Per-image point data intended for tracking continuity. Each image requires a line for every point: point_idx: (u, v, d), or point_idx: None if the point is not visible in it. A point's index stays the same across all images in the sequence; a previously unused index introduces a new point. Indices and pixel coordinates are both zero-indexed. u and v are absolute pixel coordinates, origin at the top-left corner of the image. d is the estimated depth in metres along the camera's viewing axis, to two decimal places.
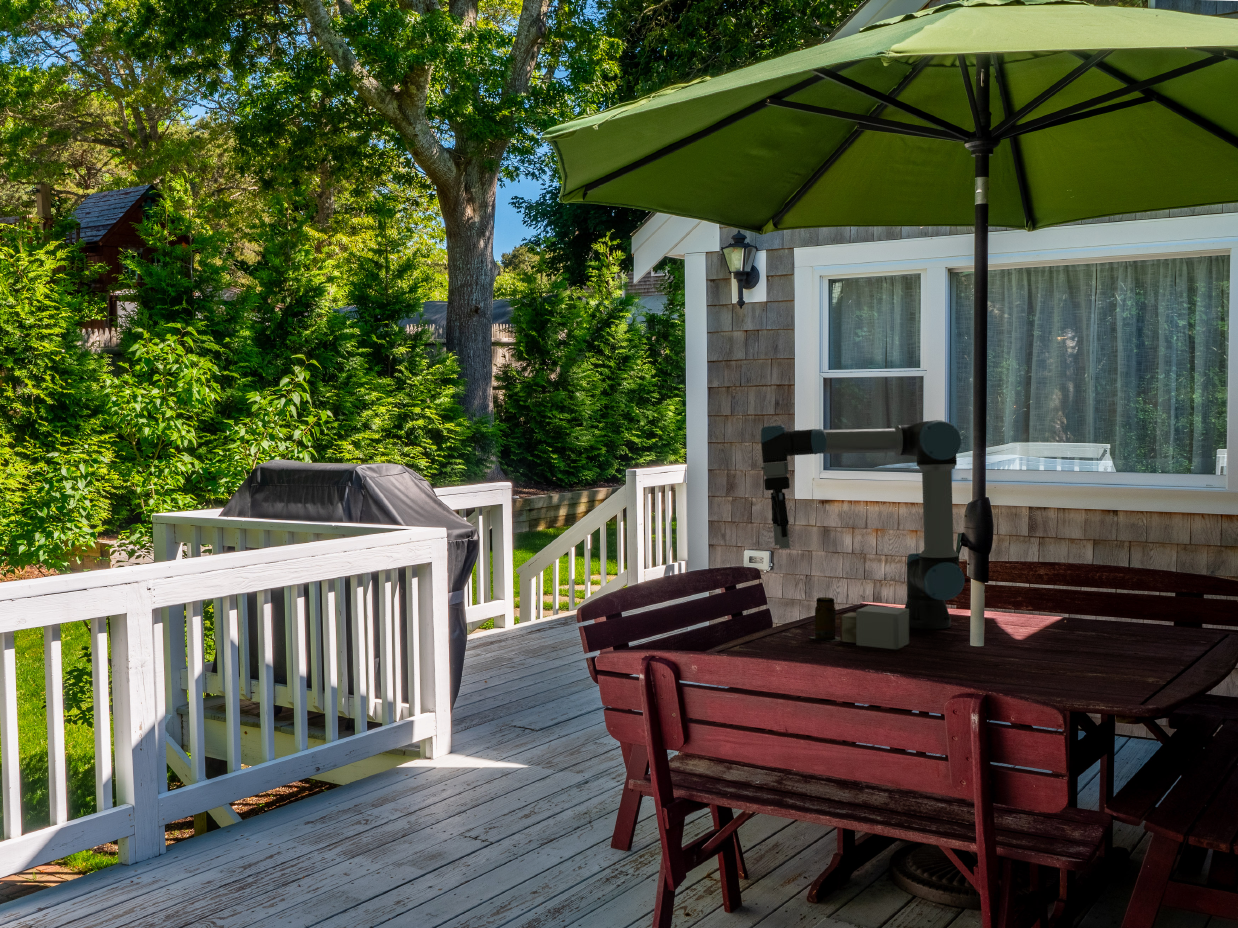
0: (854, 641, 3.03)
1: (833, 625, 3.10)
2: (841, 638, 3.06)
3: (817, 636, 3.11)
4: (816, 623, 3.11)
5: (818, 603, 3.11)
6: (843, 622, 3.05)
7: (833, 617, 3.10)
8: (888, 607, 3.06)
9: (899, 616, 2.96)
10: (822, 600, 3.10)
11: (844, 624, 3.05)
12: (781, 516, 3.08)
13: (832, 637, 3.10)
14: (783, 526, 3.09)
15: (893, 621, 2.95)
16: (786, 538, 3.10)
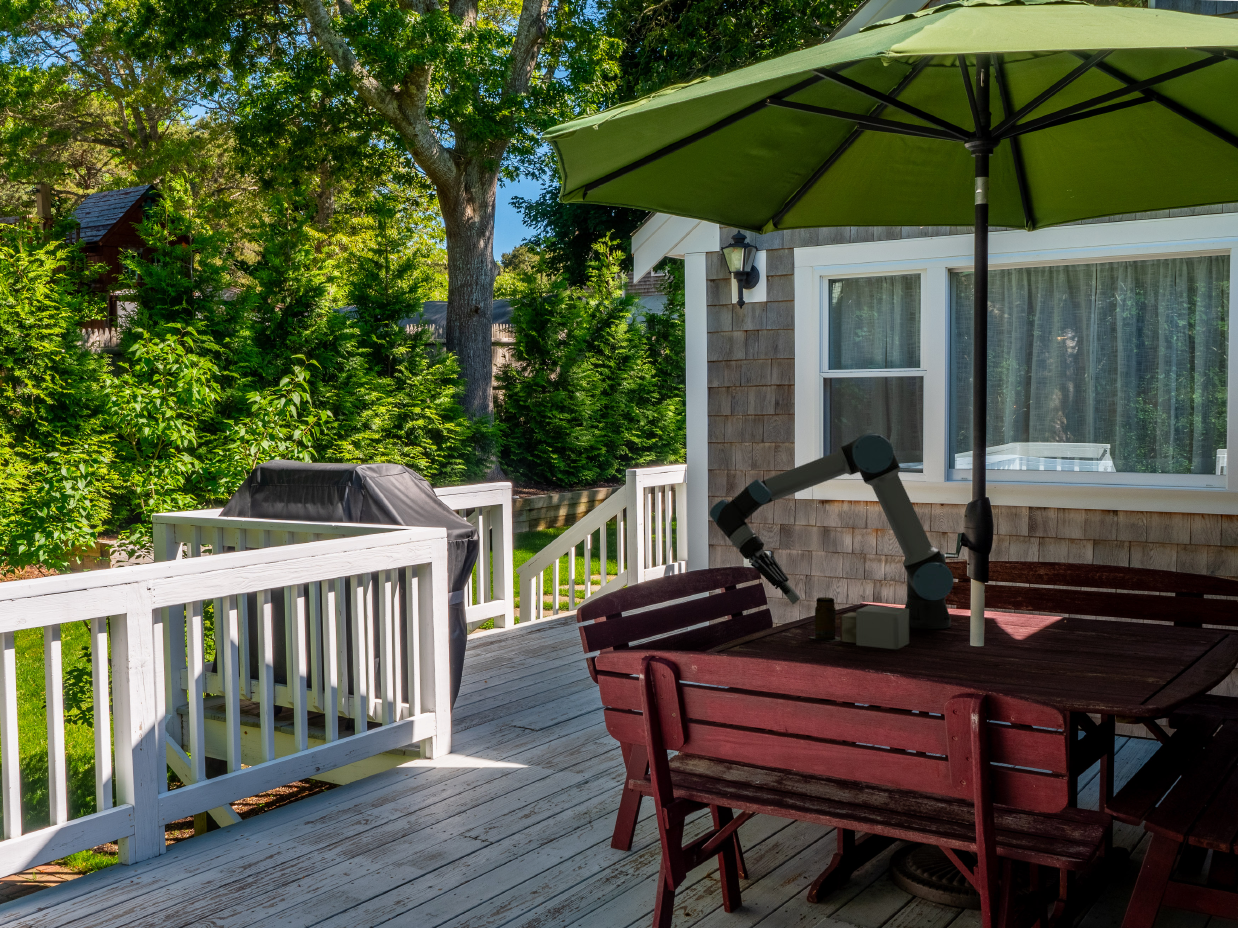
0: (854, 641, 3.03)
1: (833, 625, 3.10)
2: (841, 638, 3.06)
3: (817, 636, 3.11)
4: (816, 623, 3.11)
5: (818, 603, 3.11)
6: (843, 622, 3.05)
7: (833, 617, 3.10)
8: (888, 607, 3.06)
9: (899, 616, 2.96)
10: (822, 600, 3.10)
11: (844, 624, 3.05)
12: (770, 580, 3.17)
13: (832, 637, 3.10)
14: (779, 585, 3.17)
15: (893, 621, 2.95)
16: (791, 592, 3.17)
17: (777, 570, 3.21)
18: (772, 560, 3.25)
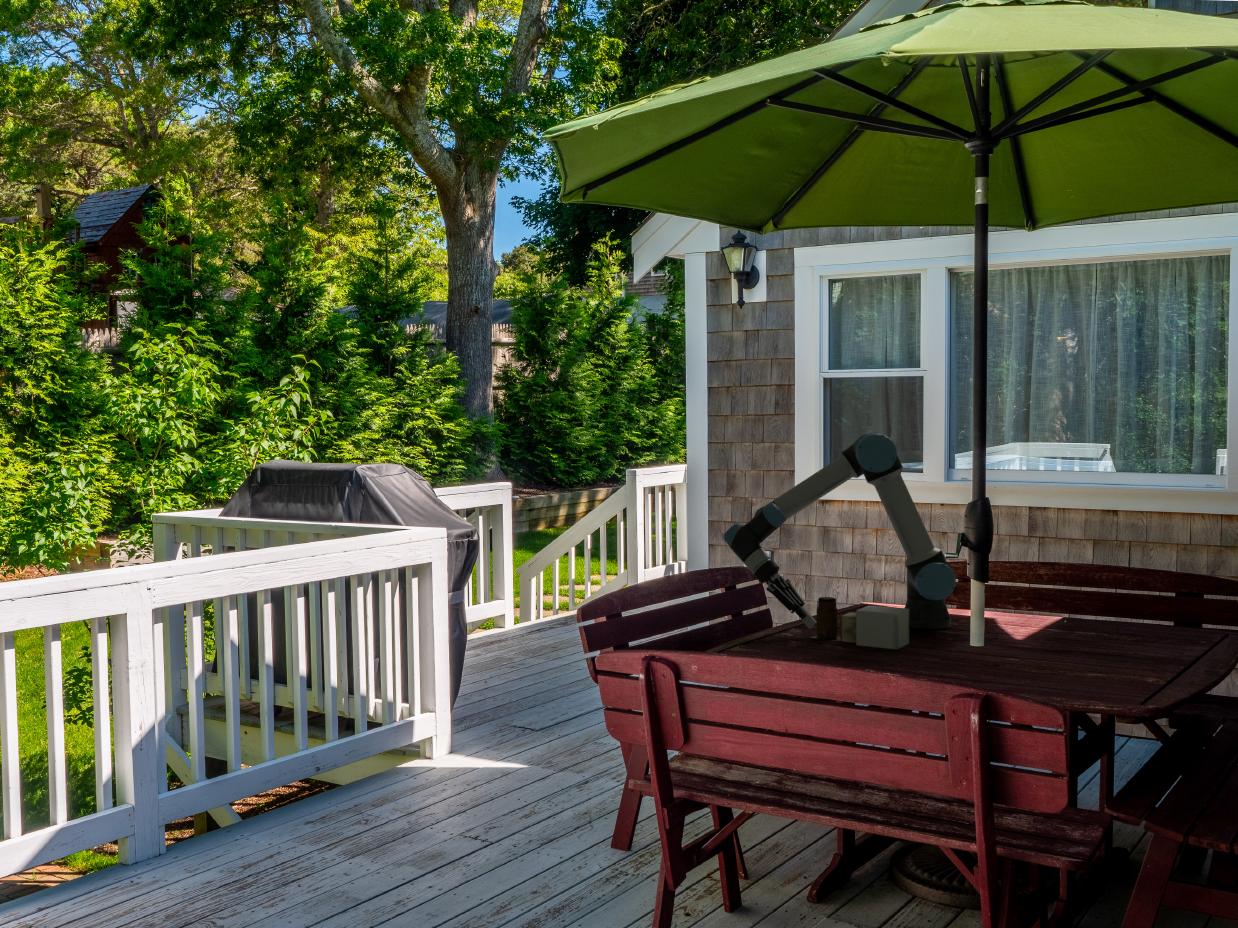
0: (854, 641, 3.03)
1: (835, 625, 3.10)
2: (841, 638, 3.06)
3: (819, 636, 3.11)
4: (818, 623, 3.11)
5: (820, 603, 3.11)
6: (843, 622, 3.05)
7: (835, 617, 3.10)
8: (888, 607, 3.06)
9: (899, 616, 2.96)
10: (824, 600, 3.10)
11: (844, 624, 3.05)
12: (786, 604, 3.14)
13: (834, 637, 3.10)
14: (795, 610, 3.14)
15: (893, 621, 2.95)
16: (807, 617, 3.14)
17: (793, 594, 3.18)
18: (787, 584, 3.23)
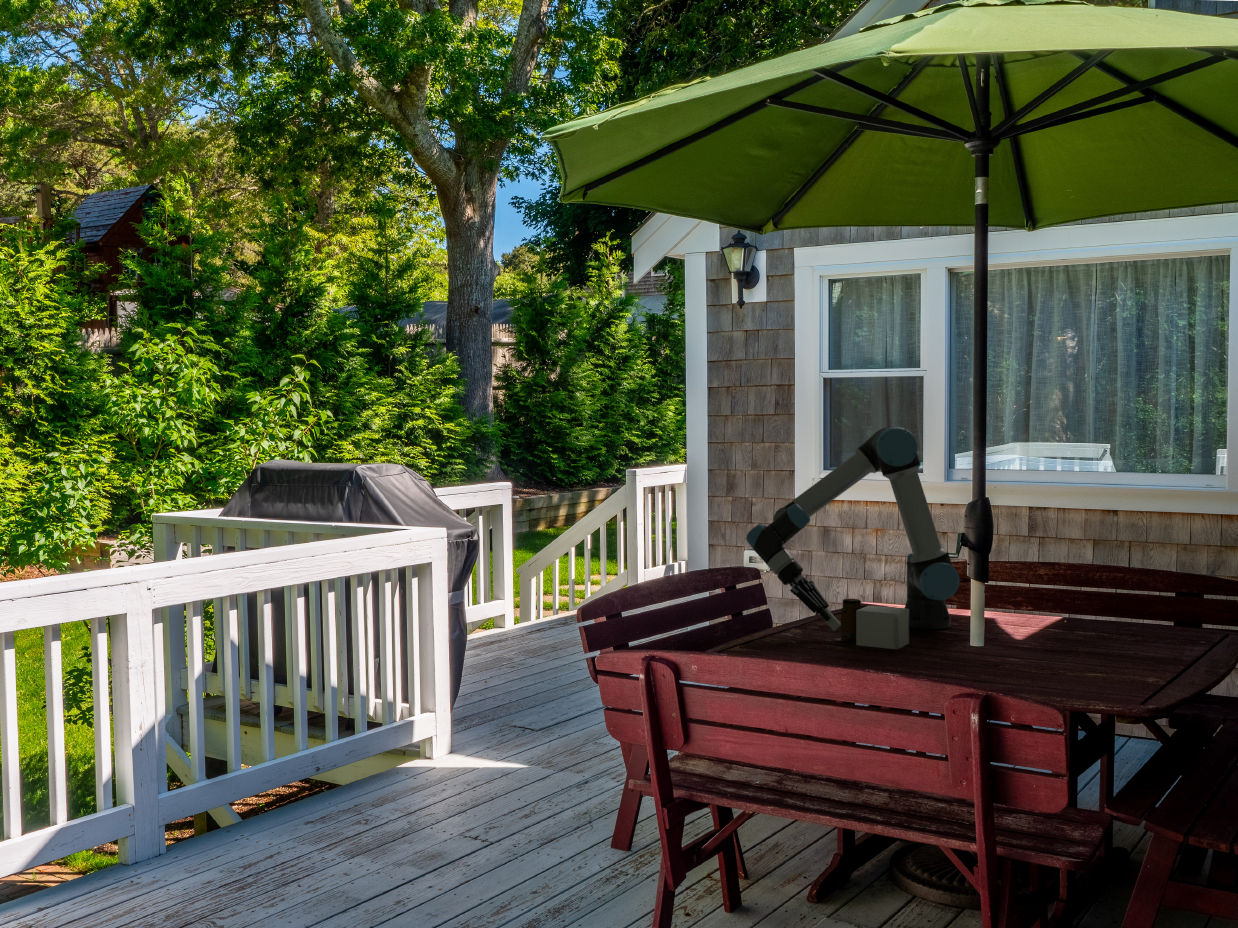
0: None
1: None
2: None
3: (843, 638, 3.07)
4: (842, 625, 3.07)
5: (845, 605, 3.07)
6: None
7: None
8: (888, 607, 3.06)
9: (899, 616, 2.96)
10: (849, 602, 3.06)
11: None
12: (810, 606, 3.10)
13: None
14: (820, 612, 3.10)
15: (893, 621, 2.95)
16: (831, 619, 3.10)
17: (817, 596, 3.14)
18: (811, 585, 3.19)
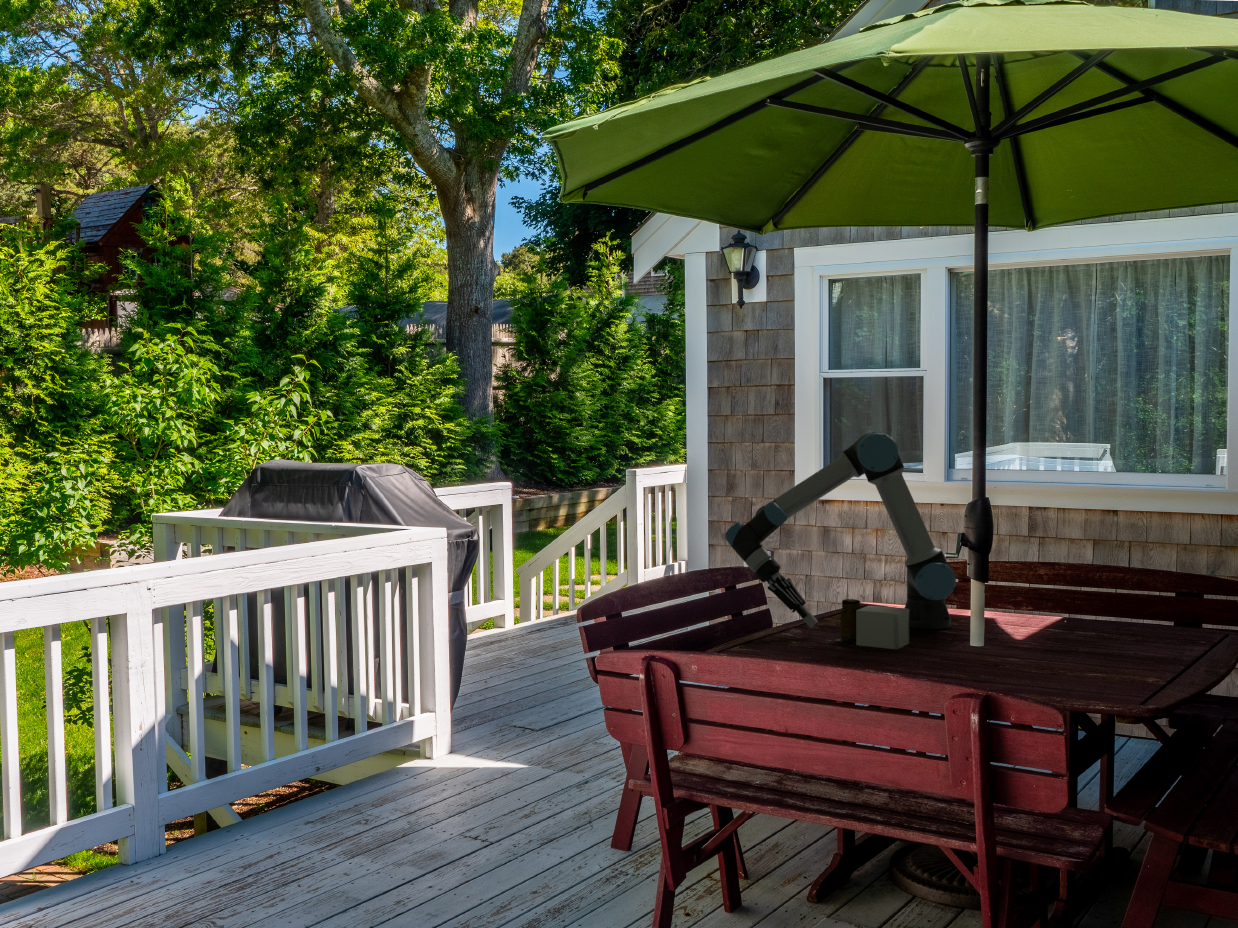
0: None
1: None
2: None
3: (843, 639, 3.07)
4: (842, 625, 3.07)
5: (844, 605, 3.07)
6: None
7: None
8: (888, 607, 3.06)
9: (899, 616, 2.96)
10: (848, 602, 3.06)
11: None
12: (787, 603, 3.14)
13: None
14: (797, 609, 3.14)
15: (893, 621, 2.95)
16: (808, 616, 3.14)
17: (794, 593, 3.18)
18: (788, 583, 3.23)
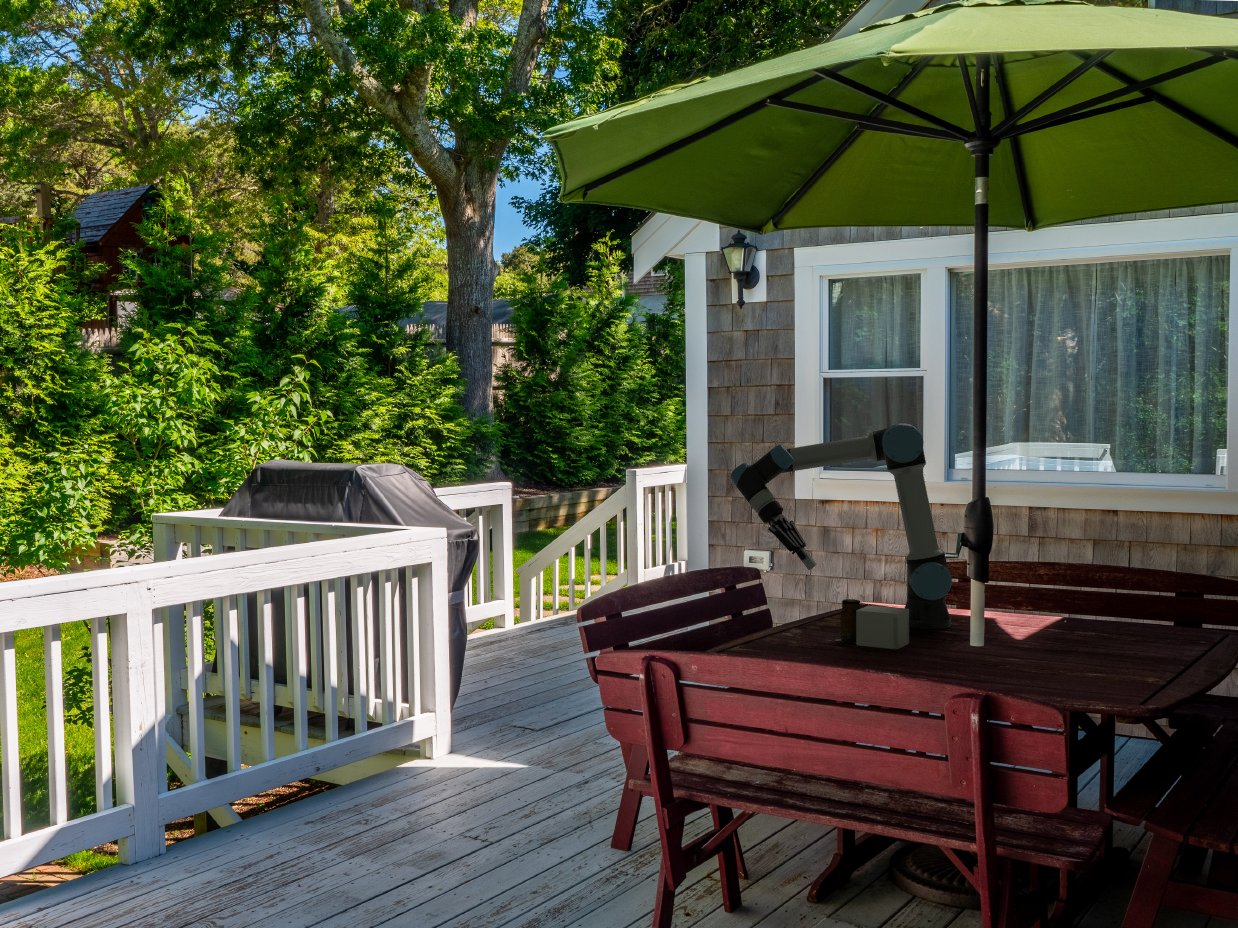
0: None
1: None
2: None
3: (843, 639, 3.07)
4: (842, 625, 3.07)
5: (844, 605, 3.07)
6: None
7: None
8: (888, 607, 3.06)
9: (899, 616, 2.96)
10: (848, 602, 3.06)
11: None
12: (786, 545, 3.17)
13: None
14: (796, 551, 3.18)
15: (893, 621, 2.95)
16: (807, 558, 3.17)
17: (795, 535, 3.21)
18: (791, 525, 3.26)
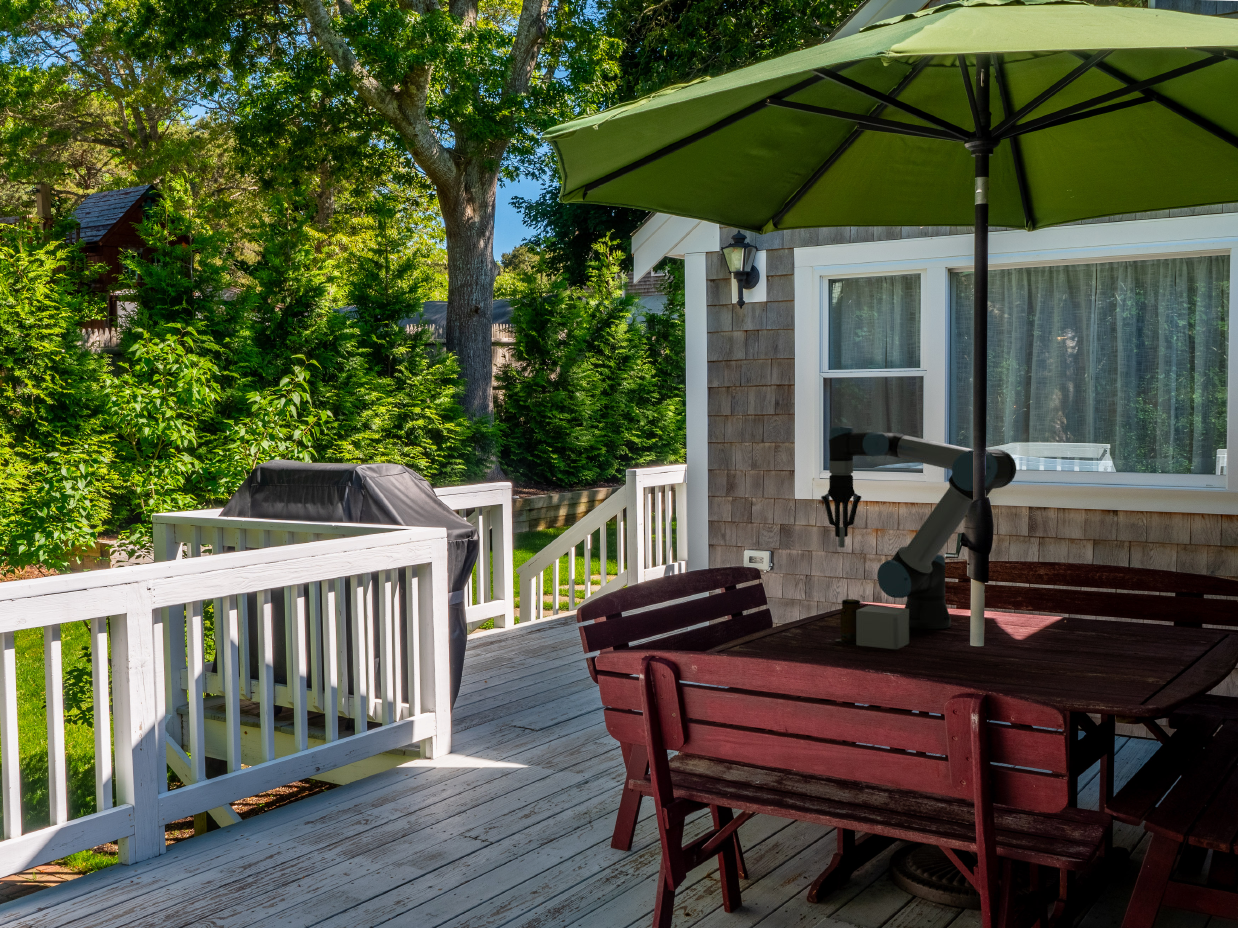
0: None
1: None
2: None
3: (843, 639, 3.07)
4: (842, 625, 3.07)
5: (844, 605, 3.07)
6: None
7: None
8: (888, 607, 3.06)
9: (899, 616, 2.96)
10: (848, 602, 3.06)
11: None
12: (828, 518, 3.40)
13: None
14: (835, 527, 3.39)
15: (893, 621, 2.95)
16: (839, 538, 3.39)
17: (845, 513, 3.38)
18: (855, 500, 3.38)
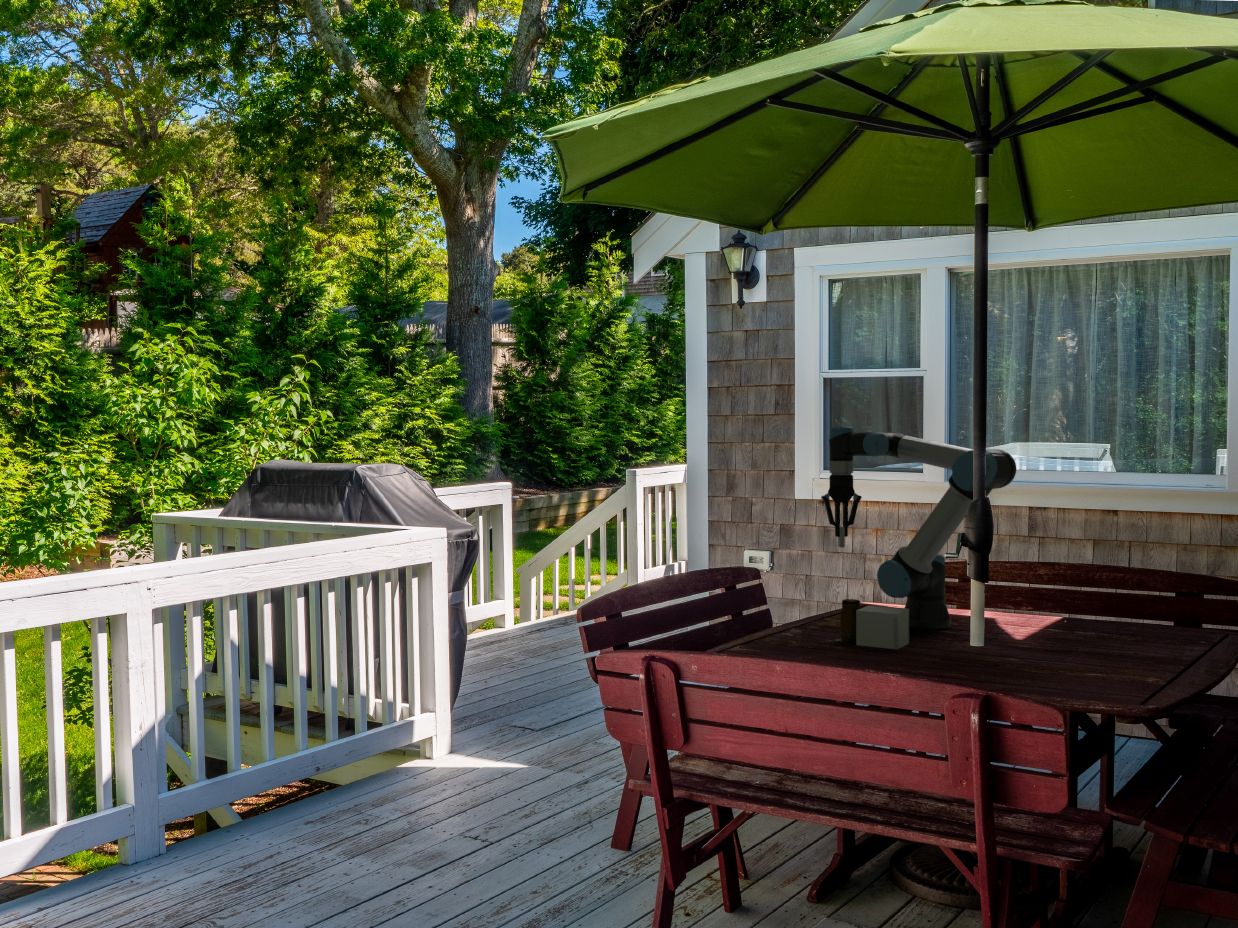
0: None
1: None
2: None
3: (843, 639, 3.07)
4: (842, 625, 3.07)
5: (844, 605, 3.07)
6: None
7: None
8: (888, 607, 3.06)
9: (899, 616, 2.96)
10: (848, 602, 3.06)
11: None
12: (828, 518, 3.40)
13: None
14: (835, 526, 3.39)
15: (893, 621, 2.95)
16: (839, 538, 3.39)
17: (845, 513, 3.38)
18: (855, 500, 3.38)
